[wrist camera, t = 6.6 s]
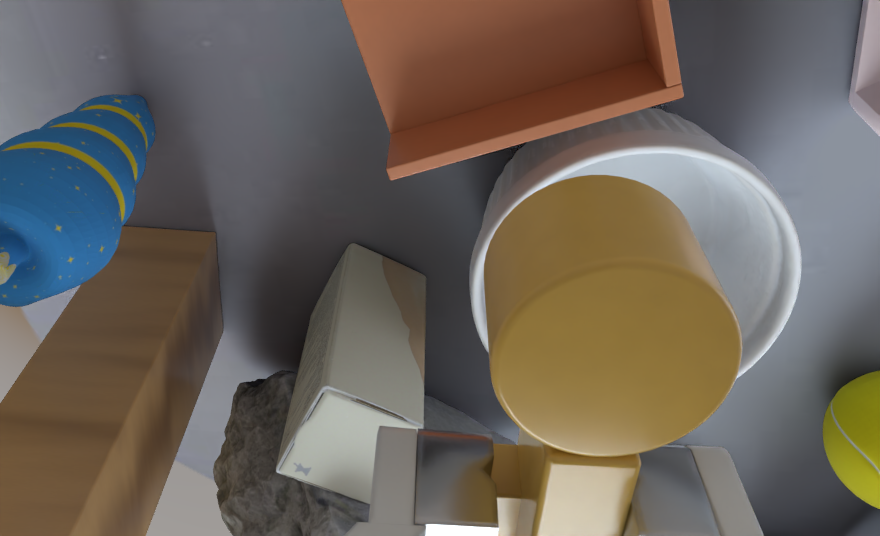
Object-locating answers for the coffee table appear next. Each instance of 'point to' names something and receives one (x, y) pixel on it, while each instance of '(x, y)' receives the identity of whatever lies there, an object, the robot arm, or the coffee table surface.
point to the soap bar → (867, 67)
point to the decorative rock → (281, 497)
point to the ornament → (69, 195)
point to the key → (598, 348)
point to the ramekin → (691, 189)
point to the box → (356, 373)
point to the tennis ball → (856, 436)
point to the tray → (508, 70)
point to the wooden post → (112, 391)
